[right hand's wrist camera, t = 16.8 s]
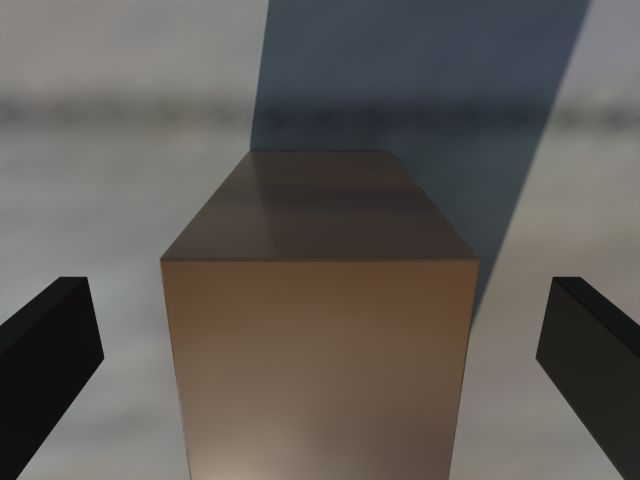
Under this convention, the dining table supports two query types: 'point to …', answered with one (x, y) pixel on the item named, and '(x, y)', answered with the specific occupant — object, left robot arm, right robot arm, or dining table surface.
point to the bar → (319, 322)
